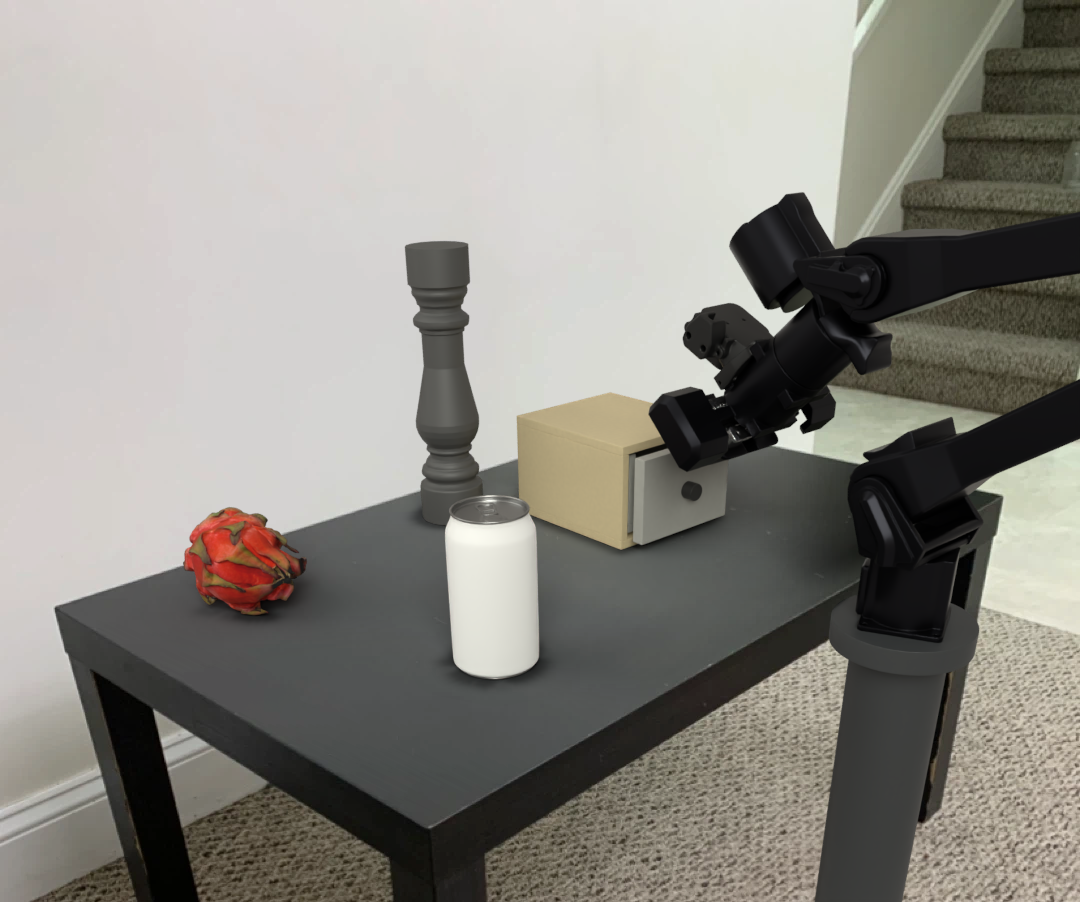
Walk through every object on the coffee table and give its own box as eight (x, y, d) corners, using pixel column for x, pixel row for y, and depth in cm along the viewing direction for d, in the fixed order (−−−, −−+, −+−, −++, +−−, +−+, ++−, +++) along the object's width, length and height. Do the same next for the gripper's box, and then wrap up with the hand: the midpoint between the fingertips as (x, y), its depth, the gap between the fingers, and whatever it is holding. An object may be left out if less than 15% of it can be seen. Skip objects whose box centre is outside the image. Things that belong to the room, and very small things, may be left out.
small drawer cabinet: (712, 516, 108) (718, 419, 103) (621, 550, 101) (623, 447, 96) (609, 482, 117) (610, 392, 112) (519, 510, 110) (516, 415, 105)
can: (463, 687, 79) (453, 529, 72) (445, 648, 84) (435, 498, 78) (549, 674, 80) (546, 518, 74) (527, 637, 85) (522, 488, 79)
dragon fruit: (216, 594, 97) (299, 651, 91) (139, 567, 90) (223, 627, 84) (258, 509, 97) (345, 561, 90) (184, 475, 89) (272, 529, 83)
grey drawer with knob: (734, 518, 105) (740, 437, 101) (651, 548, 98) (654, 464, 94) (626, 482, 114) (627, 407, 110) (544, 508, 108) (542, 430, 104)
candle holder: (496, 510, 110) (485, 242, 98) (460, 529, 106) (444, 251, 93) (446, 500, 113) (429, 239, 100) (410, 518, 109) (387, 247, 96)
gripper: (823, 260, 92) (715, 372, 105) (671, 288, 82) (571, 408, 94) (890, 371, 91) (772, 470, 104) (744, 414, 81) (634, 518, 93)
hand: (690, 464), depth 99 cm, fingers closed, pressing on grey drawer with knob
